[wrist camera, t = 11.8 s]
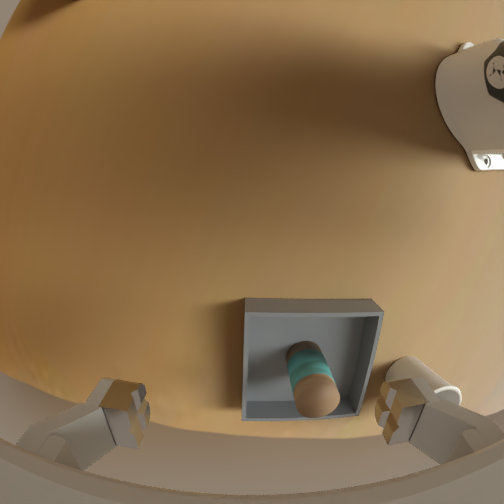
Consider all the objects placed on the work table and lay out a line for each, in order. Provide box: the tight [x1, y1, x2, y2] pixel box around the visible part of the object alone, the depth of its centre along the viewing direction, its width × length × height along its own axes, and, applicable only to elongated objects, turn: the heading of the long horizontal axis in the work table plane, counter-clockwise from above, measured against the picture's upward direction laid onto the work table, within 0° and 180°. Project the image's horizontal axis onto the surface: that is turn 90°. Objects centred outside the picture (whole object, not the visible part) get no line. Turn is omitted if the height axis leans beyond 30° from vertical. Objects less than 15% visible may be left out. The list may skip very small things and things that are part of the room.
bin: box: [242, 298, 384, 421], centre depth 35 cm, size 15×15×4 cm
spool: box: [286, 341, 340, 418], centre depth 32 cm, size 4×4×9 cm
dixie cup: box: [385, 356, 461, 406], centre depth 33 cm, size 8×8×10 cm
